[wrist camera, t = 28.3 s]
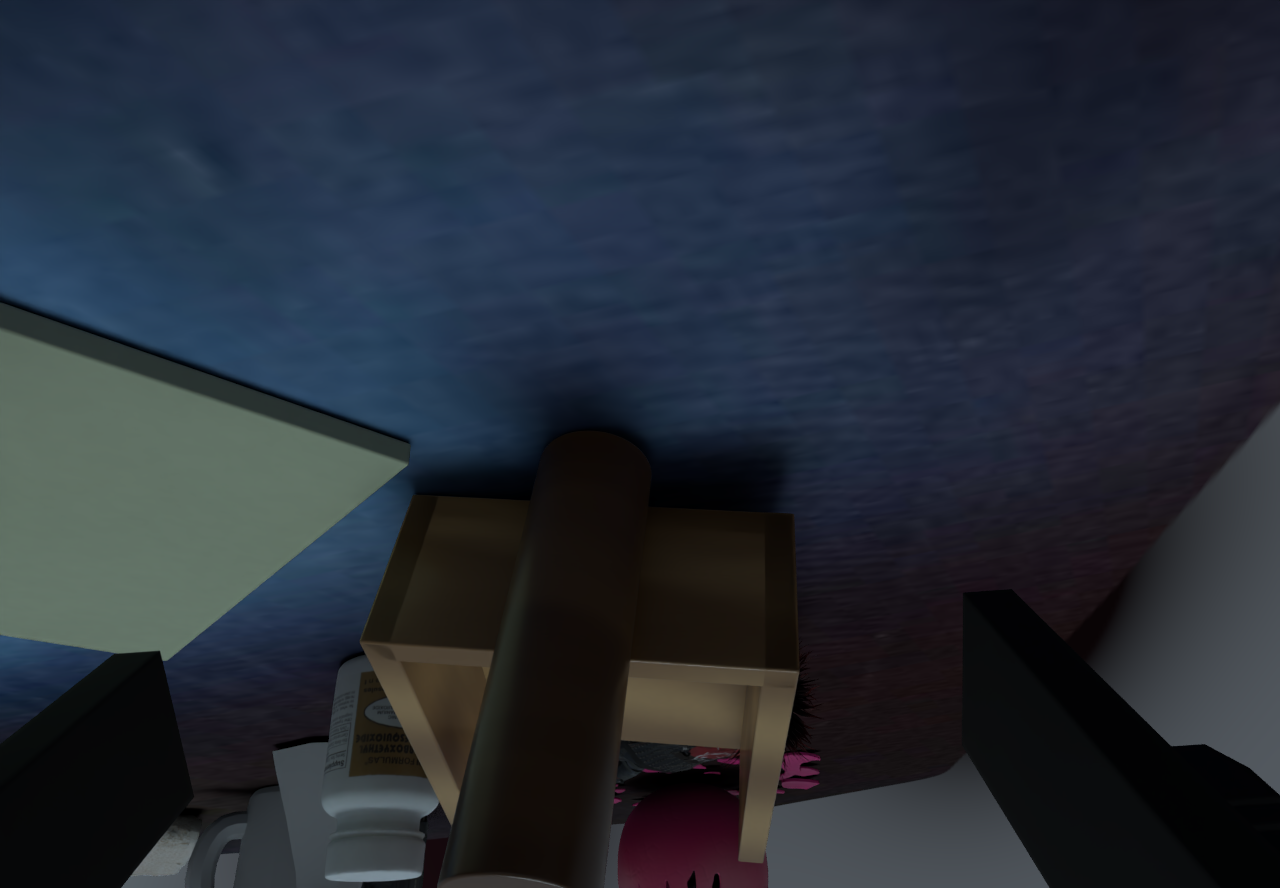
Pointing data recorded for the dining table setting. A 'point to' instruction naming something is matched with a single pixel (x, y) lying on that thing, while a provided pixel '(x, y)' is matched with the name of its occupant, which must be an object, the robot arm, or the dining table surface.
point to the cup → (248, 846)
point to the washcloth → (172, 848)
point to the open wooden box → (581, 656)
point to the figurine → (686, 757)
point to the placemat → (154, 489)
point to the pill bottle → (372, 785)
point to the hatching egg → (694, 835)
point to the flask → (307, 812)
